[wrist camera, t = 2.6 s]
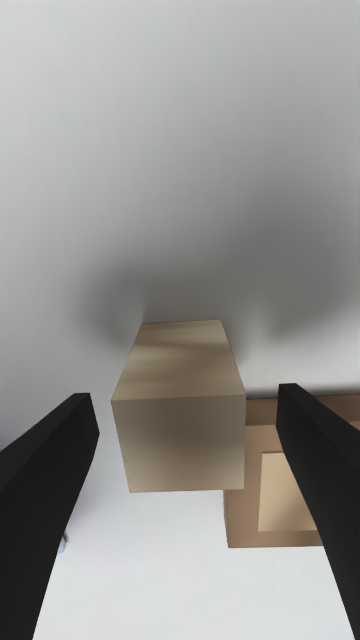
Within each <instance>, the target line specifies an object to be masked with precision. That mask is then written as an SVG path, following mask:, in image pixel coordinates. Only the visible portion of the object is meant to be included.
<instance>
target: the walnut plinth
mask: <svg viewBox="0 0 360 640" xmlns="http://www.w3.org/2000/svg"><path fill="white" fill-rule="evenodd" d="M313 397H315V398H316V399H317V400H319V401H320V402H321V403H323V404H324V405H325V406H326V407H328V408H329V409H330V410H332V411H333V412H334V413H336V414H337V415H338V416H340V417H341V418H343V419H344V420H345V421H347V422H348V423H349V424H351V425H352V426H354V427H355V428H357V429H358V430H359V431H360V394H355V395H333V396H313ZM277 403H278V398H269V399H248V400H246V420H245V462H244V489H232V490H223V491H224V520H225V527H226V535H227V543H228V548H259V547H305V546H323V543H322V540H321V538H320V535H319V533H318V530H317V528H316V525H315V523H314V520H313V518H312V516H311V514H310V511H309V509H308V507H307V505H306V502H305V500H304V498H303V496H302V493H301V491H300V489H299V487H298V484H297V482H296V480H295V478H294V476H293V473H292V471H291V469H290V466H289V464H288V462H287V460H286V457H285V455H284V452H283V449H282V446H281V443H280V440H279V437H278V433H277V430H276V415H277Z"/></svg>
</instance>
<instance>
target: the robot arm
mask: <svg viewBox="0 0 360 640" xmlns="http://www.w3.org/2000/svg"><path fill="white" fill-rule="evenodd" d="M276 430H277V433H278V437H279V440H280V443H281V446H282V449H283V452H284V455H285V457H286V460H287V462H288V464H289V466H290V469H291V471H292V473H293V476H294V478H295V480H296V482H297V484H298V487H299V489H300V491H301V493H302V496H303V498H304V500H305V502H306V505H307V507H308V509H309V511H310V514H311V516H312V518H313V520H314V523H315V525H316V528H317V530H318V533H319V535H320V538H321V540H322V543H323V546H324V549H325V552H326V555H327V557H328V560H329V563H330V566H331V569H332V572H333V574H334V577H335V580H336V583H337V586H338V589H339V592H340V595H341V598H342V601H343V604H344V607H345V610H346V613H347V616H348V619H349V622H350V625H351V628H352V632H353V635H354V638H355V640H360V431H359V430H358V429H357V428H355V427H354V426H352V425H351V424H349V423H348V422H347V421H345V420H344V419H343V418H341V417H340V416H338V415H337V414H336V413H334V412H333V411H332V410H330V409H329V408H328V407H326V406H325V405H324V404H323V403H321V402H320V401H319V400H317V399H316V398H315V397H313V396H312V395H311V394H310V393H308V392H307V391H306V390H304V389H303V388H302V387H300V386H299V385H298V384H296V383H289V384H279V390H278V403H277V415H276ZM99 434H100V433H99V429H98V425H97V421H96V417H95V413H94V408H93V404H92V400H91V396H90V393H74V394H73V395H71V396H70V397H69V398H67V399H66V400H65V401H64V402H62V403H61V404H60V405H59V406H58V407H56V408H55V409H54V410H53V411H51V412H50V413H49V414H48V415H47V416H45V417H44V418H43V419H42V420H40V421H39V422H38V423H37V424H36V425H34V426H33V427H32V428H31V429H29V430H28V431H27V432H26V433H24V434H23V435H22V436H20V437H19V438H18V439H16V440H15V441H14V442H12V443H11V444H10V445H8V446H7V447H6V448H5V449H3V450H2V451H1V452H0V640H32V639H33V635H34V632H35V628H36V624H37V620H38V617H39V613H40V610H41V606H42V603H43V599H44V596H45V592H46V589H47V585H48V582H49V578H50V575H51V572H52V569H53V565H54V562H55V559H56V556H57V554H60V553H63V552H64V550H65V547H66V543H65V541H64V538H63V534H64V531H65V529H66V526H67V523H68V521H69V518H70V516H71V513H72V511H73V508H74V506H75V503H76V501H77V498H78V496H79V493H80V491H81V488H82V486H83V483H84V481H85V478H86V476H87V473H88V471H89V468H90V466H91V463H92V460H93V457H94V453H95V450H96V446H97V442H98V438H99Z"/></svg>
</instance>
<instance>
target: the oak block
mask: <svg viewBox="0 0 360 640" xmlns="http://www.w3.org/2000/svg"><path fill="white" fill-rule="evenodd" d="M111 404H112V409H113V414H114V418H115V423H116V428H117V433H118V438H119V442H120V447H121V452H122V457H123V462H124V467H125V471H126V476H127V481H128V486H129V491H130V493H137V492H169V491H200V490H232V489H244V462H245V420H246V392H245V389H244V387H243V384H242V381H241V378H240V375H239V372H238V369H237V366H236V363H235V360H234V357H233V354H232V351H231V349H230V346H229V343H228V340H227V337H226V334H225V331H224V328H223V325H222V322H221V319H216V320H199V321H183V322H166V323H150V324H142V325H141V327H140V330H139V332H138V335H137V337H136V340H135V342H134V345H133V347H132V350H131V352H130V354H129V357H128V359H127V362H126V364H125V367H124V369H123V372H122V374H121V377H120V379H119V382H118V384H117V387H116V389H115V391H114V394H113V396H112V399H111Z"/></svg>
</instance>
